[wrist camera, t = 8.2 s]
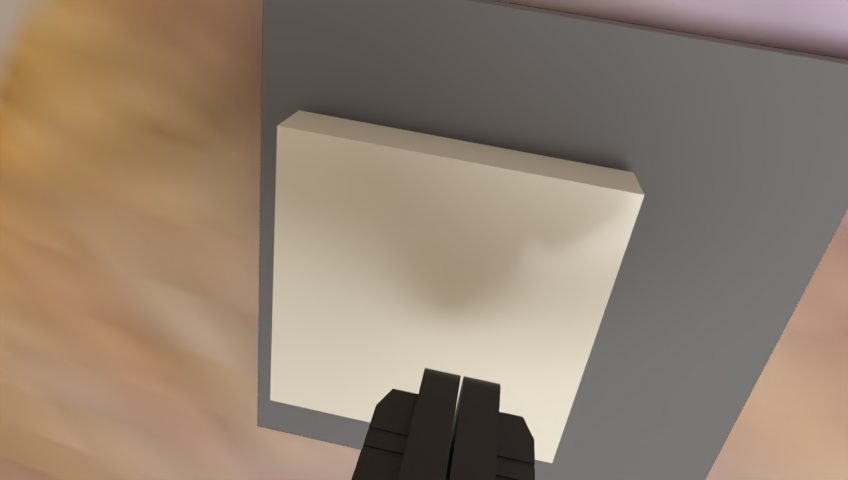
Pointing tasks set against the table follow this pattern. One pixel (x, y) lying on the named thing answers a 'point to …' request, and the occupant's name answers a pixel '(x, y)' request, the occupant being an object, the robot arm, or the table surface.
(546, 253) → the tile
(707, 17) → the table surface
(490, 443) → the robot arm
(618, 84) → the mat
